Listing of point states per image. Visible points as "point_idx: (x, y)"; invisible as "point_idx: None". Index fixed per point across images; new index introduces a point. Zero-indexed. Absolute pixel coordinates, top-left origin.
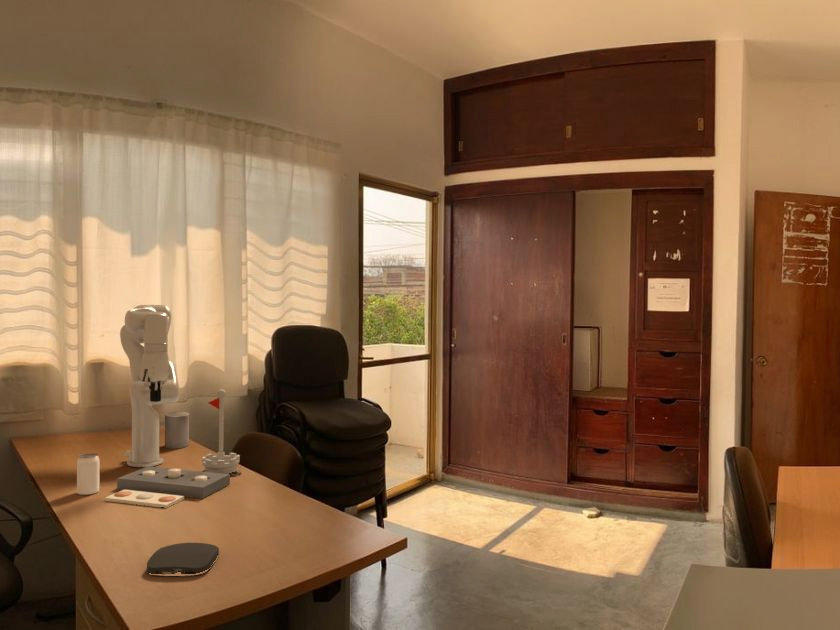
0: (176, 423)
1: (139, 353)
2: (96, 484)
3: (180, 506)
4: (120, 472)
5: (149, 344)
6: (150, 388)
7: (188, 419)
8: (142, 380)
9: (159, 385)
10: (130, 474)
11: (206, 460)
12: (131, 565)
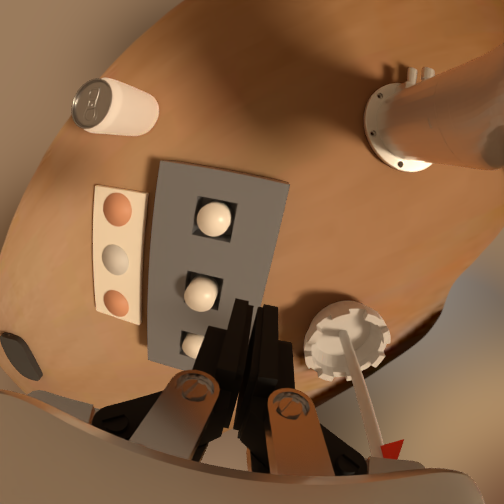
0: None
1: None
2: (125, 135)
3: (112, 325)
4: (313, 94)
5: None
6: (155, 401)
7: None
8: (25, 408)
9: (250, 470)
10: (198, 175)
11: (313, 333)
12: (3, 318)
